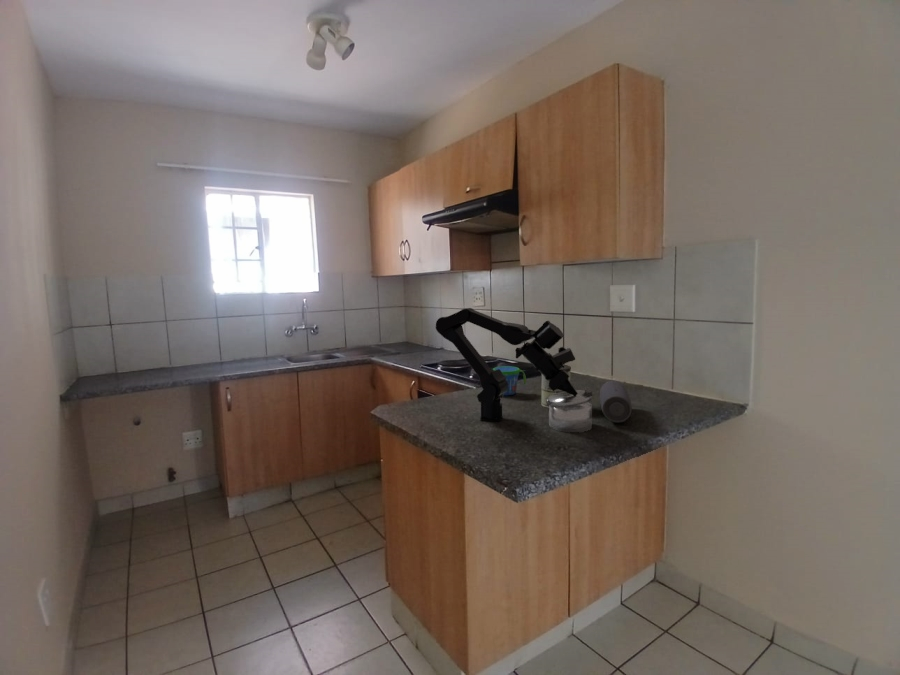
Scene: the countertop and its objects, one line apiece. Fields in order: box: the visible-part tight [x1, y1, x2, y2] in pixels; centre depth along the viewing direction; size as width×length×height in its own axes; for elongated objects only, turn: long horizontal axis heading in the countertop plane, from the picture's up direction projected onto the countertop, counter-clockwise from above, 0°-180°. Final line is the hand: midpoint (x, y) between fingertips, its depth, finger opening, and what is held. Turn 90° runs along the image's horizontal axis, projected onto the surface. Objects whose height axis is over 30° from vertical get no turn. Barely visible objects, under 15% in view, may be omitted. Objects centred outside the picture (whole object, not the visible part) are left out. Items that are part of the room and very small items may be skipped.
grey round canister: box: [548, 401, 593, 433], centre depth 135 cm, size 13×13×7 cm
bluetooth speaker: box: [599, 379, 633, 423], centre depth 144 cm, size 23×9×10 cm, turn 163°
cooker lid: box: [546, 386, 593, 407], centre depth 134 cm, size 14×13×2 cm
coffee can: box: [540, 364, 572, 409], centre depth 157 cm, size 10×10×14 cm
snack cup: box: [492, 365, 527, 396], centre depth 175 cm, size 16×10×10 cm
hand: (576, 394), depth 133 cm, fingers closed
